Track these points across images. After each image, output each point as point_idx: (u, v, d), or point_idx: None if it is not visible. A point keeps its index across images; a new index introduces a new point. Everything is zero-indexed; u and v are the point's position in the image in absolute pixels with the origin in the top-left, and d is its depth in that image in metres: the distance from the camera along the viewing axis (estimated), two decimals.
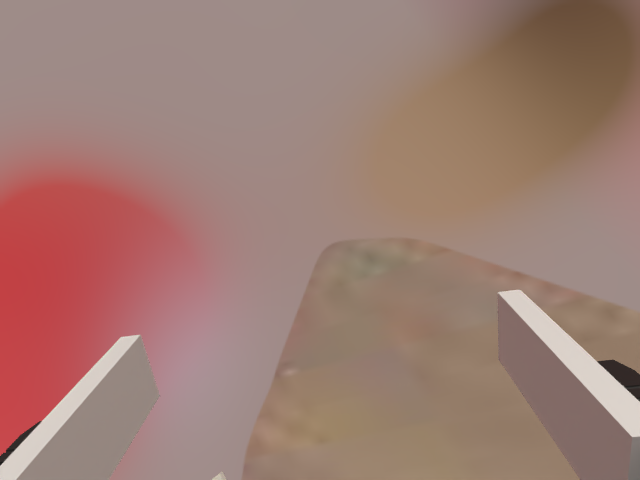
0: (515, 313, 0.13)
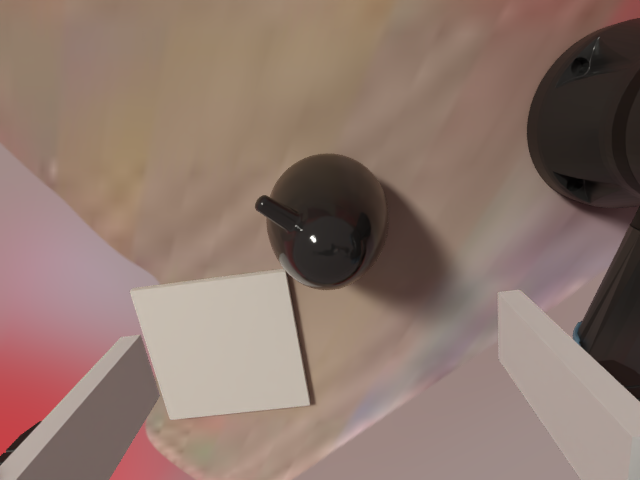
0: (515, 313, 0.13)
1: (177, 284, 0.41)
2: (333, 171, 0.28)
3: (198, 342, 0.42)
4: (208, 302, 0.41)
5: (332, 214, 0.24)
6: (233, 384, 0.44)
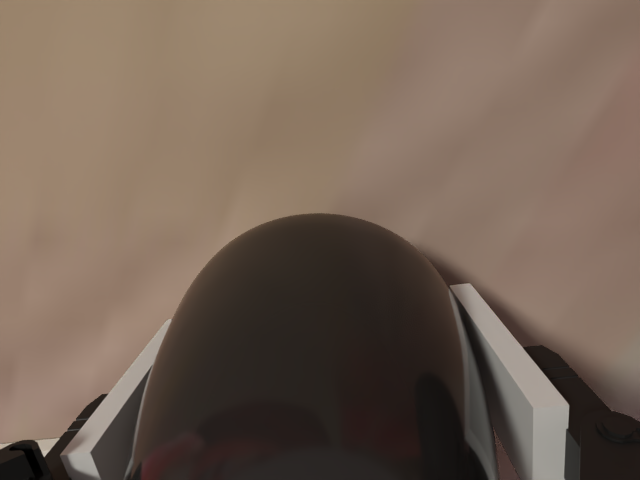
0: (461, 304, 0.14)
1: None
2: (332, 306, 0.09)
3: None
4: None
5: None
6: None
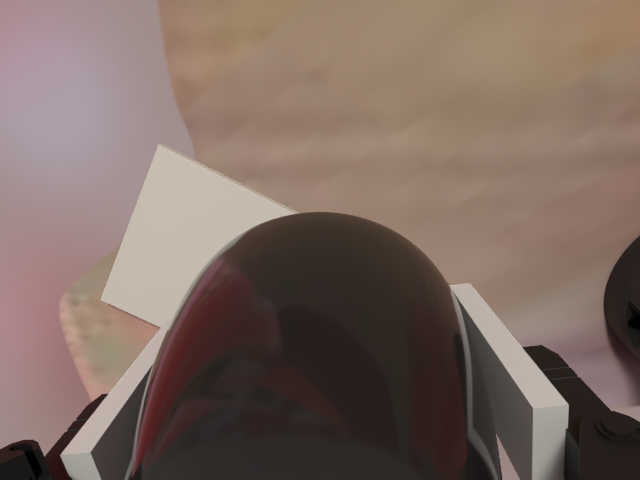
0: (460, 304, 0.14)
1: (213, 171, 0.34)
2: (334, 304, 0.08)
3: (191, 242, 0.36)
4: (232, 210, 0.35)
5: None
6: None
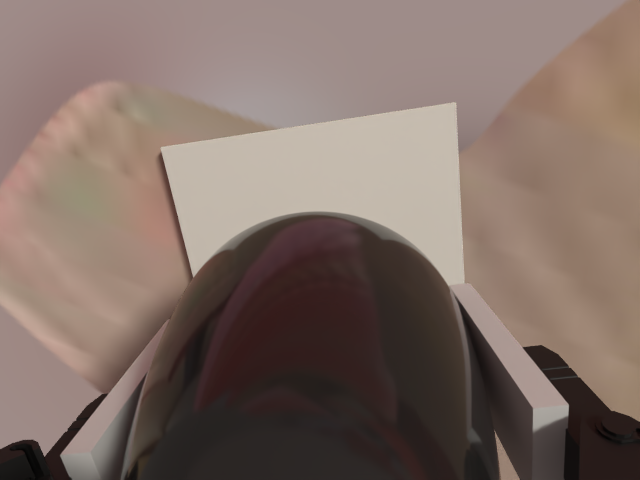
0: (460, 304, 0.14)
1: None
2: (331, 303, 0.08)
3: None
4: (422, 247, 0.23)
5: None
6: None
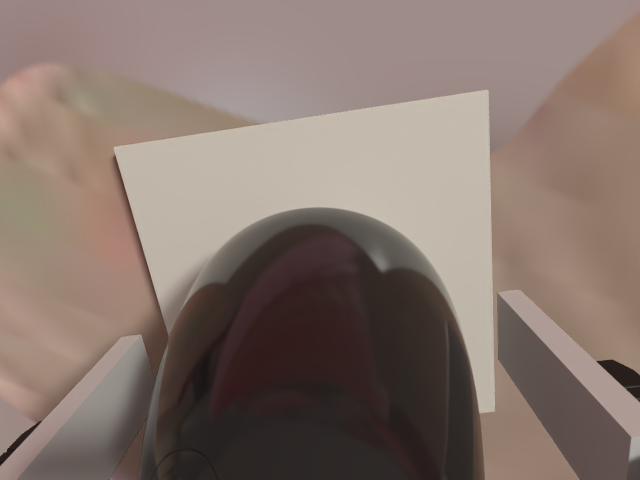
0: (515, 313, 0.13)
1: None
2: (331, 288, 0.09)
3: None
4: (442, 270, 0.19)
5: None
6: None
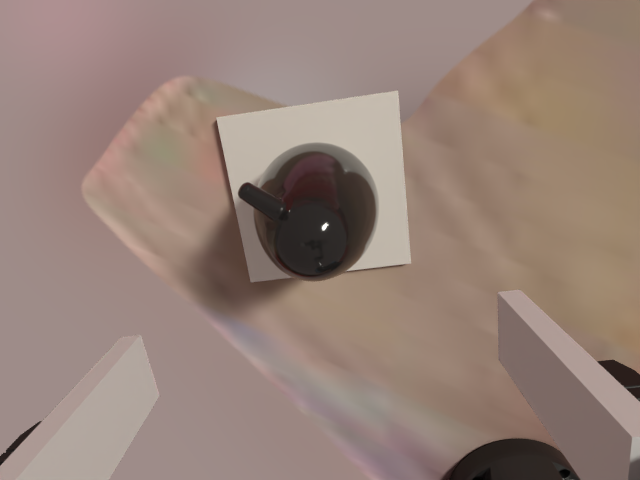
0: (515, 313, 0.13)
1: (401, 148, 0.36)
2: (321, 159, 0.28)
3: None
4: (379, 182, 0.37)
5: (317, 202, 0.23)
6: None
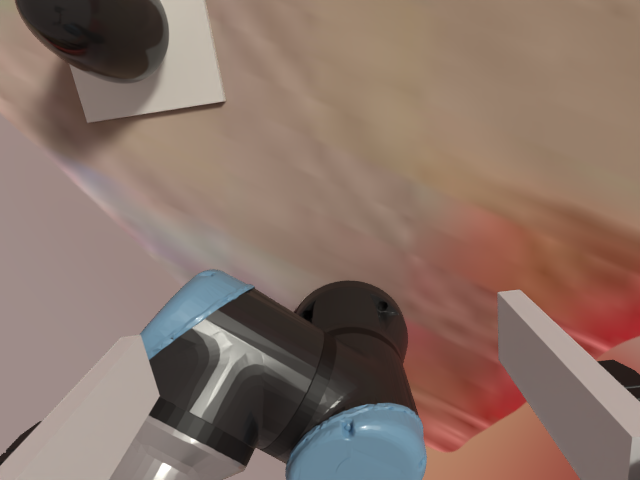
0: (515, 313, 0.13)
1: None
2: None
3: None
4: (186, 21, 0.42)
5: None
6: None
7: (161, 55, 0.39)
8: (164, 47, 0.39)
